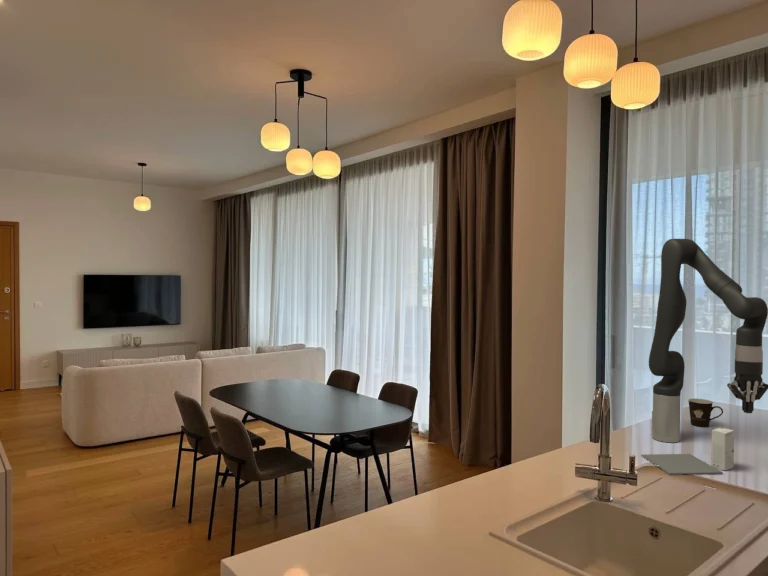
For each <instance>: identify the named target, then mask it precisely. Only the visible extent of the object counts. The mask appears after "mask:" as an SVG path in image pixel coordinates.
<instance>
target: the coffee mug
mask: <svg viewBox="0 0 768 576" xmlns="http://www.w3.org/2000/svg"><path fill="white" fill-rule="evenodd" d="M688 408H689V417H690V424H691V426H693V427H696V428H709V427H710V422H711V421H712V420H715V419H717V418H720V417H721V416H722V415H723V414H724V409H723V408H722V407H720V406H718V405H715V406H713V401H712V400H709V399H703V398H695V397H694V398H689V399H688ZM716 408H717V409H719V410H720V411H721V413H720V414H718V415H717V416H715V417H713V418H711V415H712V412H713V410H714V409H716Z"/></svg>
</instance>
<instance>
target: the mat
mask: <svg viewBox="0 0 768 576" xmlns="http://www.w3.org/2000/svg"><path fill="white" fill-rule="evenodd" d="M640 456H641V457H642V456H643V457H644V458H643V457H642V458H643V459H645V458H646V459H647V460H646V459H645V460H646V461H648V460H649V461H651V462H653V463H654V464H656V465H659V467H660V468H661V469H662V470H661V469H660V468H659V469H660V470H661V471H662V472H664V473H666V474H667V475H669V476H683V475H682V474H708V475H723V471H722V470H720V469H717V468H714V467H712V464H709V463H707V462H705V461H703V460H701V459H700V458H698V457H696V456H694V455H693V454H690V453H664V454H663V453H660V454H659V453H658V454H656V453H655V454H653V453H652V454H651V453H650V454H648V453H647V454H641V455H640ZM649 461H648V462H649ZM651 462H650V463H651ZM654 464H653V465H654Z"/></svg>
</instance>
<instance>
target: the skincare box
mask: <svg viewBox="0 0 768 576" xmlns="http://www.w3.org/2000/svg"><path fill="white" fill-rule="evenodd" d="M734 447H735V430H734V429H729V428H724V427H718V428H715V429H712V430H711V466H712V467H714V468H716V469H718V470H720V469H721V470H720V471H724V470H725V471H728V470H732V469H733V468H734V467H735V466H734V465H735V458H734V457H735V455H734V453H735V448H734Z"/></svg>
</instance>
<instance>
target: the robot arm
mask: <svg viewBox="0 0 768 576" xmlns="http://www.w3.org/2000/svg"><path fill="white" fill-rule="evenodd" d="M660 255H661V258H660V260H661V261H660V262H661V264H660V265H661V266H660V283H659V284H660V285H659V295H658V301H657V308H656V321H655V325H654V326H655V328H654V333H653V339H652V342H651V347H650V351H649V357H648V367H649V371H650V372H651V374H652V375H654V376H656V377H662V378H661V380H659V381H658V382H656V383H655V384H654V385H653V386H652V411H651V438H652V439H654V440H656V441H659V442H664V443H678V442H680V438H681V435H680V432H681V399H682V398H681V396H682V395H681V393H682V390H683V388H684V380H685V369H686V368H685V360H684V357H683V355H682V354H681V353H680V352H679V351H676V350H670V345H671V341H672V340H673V337H674V336H675V335H676V333H677V331H678V330H679V329H680V328H681V326H682V325H683V322H684V320H685V317H686V310H687V297H686V293H685V290H684V289H683V286H682V282H681V277H680V276H681V268H682V265H687V266H690V267H691V268H693V269H694V270H695V271H697V273H698V274H699V275H700V277H701V278H702V280H703V283H704V284H705V286H706V287H707V288H708V289H709V291H711V292H712V293H713V294H714V295H716V296H717V297H718V298H719V299H721V301H722V302H723V303H724V306H726V308H727V310H728V311H729V312H730V314H732V315H733V316H735V317H736V318H737V319H739V320H743V324H742V325H741V326H739V327H738V328H737V329H736V332H735V336H736V337H735V347H734V348H735V349H734V373H735V376H734V377H733V381H732V382H731V383H729V382H728V383H727V385H726V386H727V388H728V389H729V391H730V392H731V393H732V394H733V396H734V397H735V398H736V399H737V400H741V410H742V411H743V413H745V414H753V412H754V410H755V409H754V406H755V405H754V403H755V401H758V400H759V401H760V400H761V398H762V397H763V396H764V394H765V393H766V392H767V390H768V384H767V383H766V382H764V381H763V377H762V375H763V373H764V372H763V371H764V370H763V369H764V367H763V364H764V351H763V331H764V329H765V325H766V323H767V319H768V305H767V302H766V301H765V300H764V299H763V298H761V297H758V296H757V297H756V296H755V297H753V296H751V297H747V296H745V295H744V294H743V288H742V286H741V285H740V284H739V283H737V281H735V280H734V279H732V277H730V276H729V275H728V274H727V273H725V272H724V271H723V270H722V269H721V268H720V267H719V266H717V265H716V264H715V262H713V261H712V259H711V258H710V257H709V256H708V255H707V254H706V253H705V251H704V250H703V249H702V248H701V247H700V246H699V245H698V244H697V243H696V241H694V240H692V239H689V238H671V239H670V238H669V239H668V240H666V241H665V242H664V243H663V246H662V249H661V254H660Z"/></svg>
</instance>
